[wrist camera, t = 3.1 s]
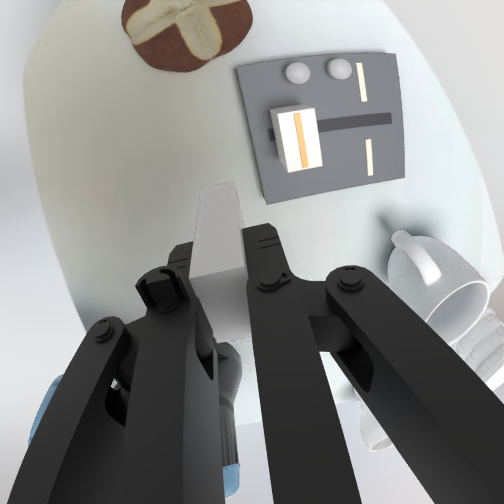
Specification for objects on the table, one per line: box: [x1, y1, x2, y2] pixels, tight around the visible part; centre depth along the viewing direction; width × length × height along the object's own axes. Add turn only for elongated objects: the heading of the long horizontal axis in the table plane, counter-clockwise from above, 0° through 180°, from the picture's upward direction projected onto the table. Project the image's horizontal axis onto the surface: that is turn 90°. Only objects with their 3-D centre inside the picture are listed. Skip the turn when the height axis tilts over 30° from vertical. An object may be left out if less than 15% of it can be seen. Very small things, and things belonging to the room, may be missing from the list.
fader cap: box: [270, 104, 323, 173], centre depth 24 cm, size 3×5×4 cm, turn 12°
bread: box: [121, 0, 253, 72], centre depth 19 cm, size 11×11×5 cm
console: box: [236, 53, 405, 205], centre depth 27 cm, size 16×14×4 cm
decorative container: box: [452, 306, 504, 391], centre depth 39 cm, size 12×12×18 cm
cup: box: [353, 387, 394, 451], centre depth 50 cm, size 11×11×15 cm
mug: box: [388, 230, 490, 345], centre depth 32 cm, size 15×11×13 cm
